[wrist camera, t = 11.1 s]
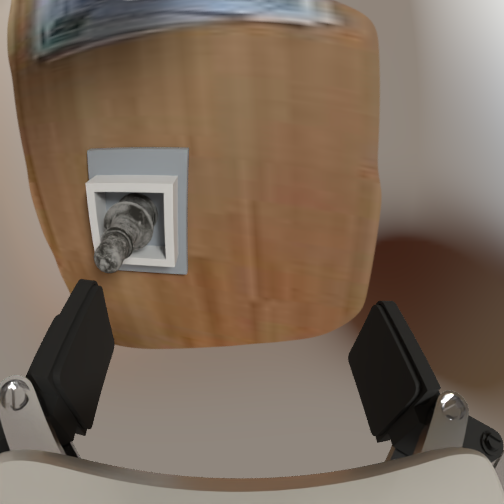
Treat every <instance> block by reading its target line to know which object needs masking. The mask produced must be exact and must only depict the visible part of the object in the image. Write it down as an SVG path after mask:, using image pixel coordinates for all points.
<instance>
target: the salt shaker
mask: <svg viewBox="0 0 504 504" xmlns="http://www.w3.org/2000/svg"><path fill="white" fill-rule="evenodd" d="M157 218H158V212H157V208H156V206H155V204H154V203H153V201H152V200H151V199H150V198H148V197H147V196H145V195H143V194H140V193H130V194H128V195H125V196H124V197H123V198H121V199H120V201H119V202H118V203H116V204H114V205H113V206H111V207H110V208H109V209H108V211H107V213H106V214H105V218H104V228H105V231H104V233H103V234H102V237H101V243H100V245H99V246H98V247H97V249H96V251H95V253H94V261H95V264H96V265H97V267H98V268H99V269H100V270H101V271H103V272H105V273H114V272H116V271H117V270H118V269H119V268H120V267H121V265H122V263H123V261H124V259H127V258H128V257H129V256H130V255H131V254H132V252H133V250H138V249H141V248H143V247H145V246H146V245H147V244H148V243H149V242H150V240H151V238H152V236H153V230H154V226H155V225H156V222H157Z"/></svg>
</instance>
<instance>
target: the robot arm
mask: <svg viewBox="0 0 504 504" xmlns="http://www.w3.org/2000/svg"><path fill="white" fill-rule="evenodd" d="M113 350H114V338H113V334H112V330H111V326H110V322H109V317H108V313H107V308H106V304H105V299H104V294H103V289H102V287H101V286H98V284H97V282H96V281H92V280H84V279H80V280H79V281H78V283H77V284H76V286H75V288H74V290H73V291H72V293H71V295H70V297H69V298H68V300H67V302H66V304H65V306H64V307H63V309H62V311H61V313H60V314H59V315H57V316H56V317H55V318H54V320H53V322H52V324H51V325H50V327H49V329H48V331H47V333H46V335H45V337H44V339H43V341H42V343H41V345H40V347H39V349H38V351H37V353H36V355H35V357H34V360H33V362H32V364H31V366H30V368H29V371H28V373H27V375H26V377H23V376H19V375H13V376H9V377H7V378H6V379H4V380H3V381H2V382H1V383H0V504H504V450H503V441H502V438H501V436H500V435H499V433H498V432H496V431H495V430H494V429H492V428H490V427H489V426H487V425H485V424H483V423H481V422H480V421H478V420H476V419H474V418H472V417H471V416H469V408H468V405H467V403H466V401H465V399H464V398H463V397H462V396H461V395H460V394H458V393H457V392H454V391H444V392H442V393H441V394H440V393H439V389H440V388H441V387H440V385H439V383H438V381H437V379H436V377H435V375H434V373H433V371H432V369H431V367H430V365H429V363H428V361H427V359H426V357H425V356H424V354H423V352H422V350H421V348H420V346H419V344H418V343H417V341H416V339H415V337H414V335H413V333H412V331H411V330H410V328H409V326H408V324H407V323H406V321H405V319H404V317H403V315H402V314H401V312H400V310H399V309H398V307H397V305H396V304H395V303H394V302H393V301H378V302H377V303H376V305H374V306H373V307H372V308H371V311H370V313H369V315H368V317H367V319H366V321H365V323H364V325H363V327H362V329H361V331H360V333H359V335H358V337H357V339H356V341H355V343H354V345H353V347H352V349H351V351H350V353H349V356H348V360H349V364H350V367H351V370H352V373H353V376H354V379H355V382H356V385H357V388H358V392H359V395H360V398H361V401H362V404H363V407H364V410H365V414H366V417H367V420H368V424H369V427H370V430H371V433H372V435H373V436H376V439H377V442H383V441H388V440H390V439H391V442H392V447H391V449H390V451H389V453H388V455H387V458H386V460H385V462H382V463H378V464H373V465H368V466H363V467H358V468H353V469H348V470H341V471H334V472H328V473H320V474H311V475H302V476H291V477H277V478H254V479H253V478H250V479H249V478H247V479H235V478H230V479H229V478H203V477H189V476H178V475H169V474H160V473H153V472H146V471H139V470H134V469H128V468H122V467H117V466H112V465H107V464H102V463H98V462H93V461H89V460H85V459H81V457H80V455H79V454H78V452H77V450H76V448H75V446H74V444H73V442H72V441H73V440H74V435H75V433H76V434H80V435H84V436H85V435H86V431H87V429H91V427H92V425H93V421H94V417H95V413H96V409H97V405H98V401H99V397H100V394H101V390H102V387H103V383H104V380H105V376H106V373H107V370H108V366H109V363H110V360H111V357H112V353H113Z"/></svg>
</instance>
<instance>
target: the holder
mask: <svg viewBox="0 0 504 504" xmlns="http://www.w3.org/2000/svg"><path fill="white" fill-rule="evenodd" d="M87 156H88V172H89V181H88V182H86V193H87V202H88V210H89V218H90V225H91V232H92V239H93V245H94V251H96V249H97V247H98V246H99V245H100V243H101V237H102V234H103V233H104V231H105V228H104V218H105V214H106V213H107V211H108V209H109V208H110V207H111V206H113V205H114V204H116V203H118V202H119V201H120V199H121V198H123V197H124V196H125V195H128V194H130V193H140V194H143V195H145V196H147V197H148V198H150V199H151V200H152V201H153V203H154V204H155V206H156V208H157V212H158V218H157V222H156V225H155V226H154V230H153V236H152V238H151V240H150V242H149V243H148V244H147V245H146V246H145V247H143V248H141V249H138V250H133V252H132V254H131V255H130V256H129V257H128V258H127V259H124V261H123V263H122V265H121V267H120V268H119V269H118V270H126V271H140V272H155V273H170V274H187V272H188V254H187V203H188V160H189V148H173V147H129V148H97V149H89V150H88V151H87Z"/></svg>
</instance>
